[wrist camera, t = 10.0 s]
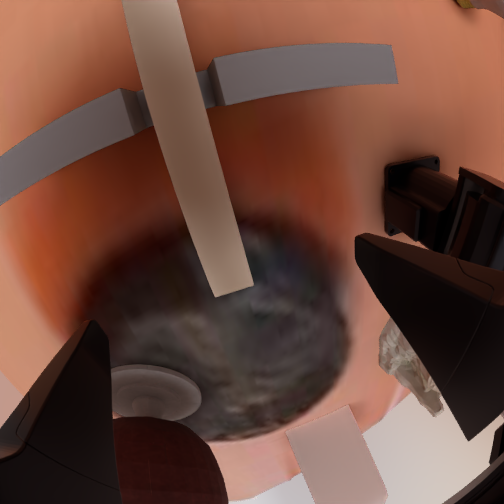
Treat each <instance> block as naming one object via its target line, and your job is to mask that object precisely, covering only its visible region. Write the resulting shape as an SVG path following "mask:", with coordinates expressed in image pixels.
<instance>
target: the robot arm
mask: <svg viewBox="0 0 504 504" xmlns="http://www.w3.org/2000/svg"><path fill="white" fill-rule="evenodd" d="M439 166H440V160H439V158H438V157H437V156H434V155H433V156H428V157H422V158H417V159H412V160H407V161H403V162H398V163H393V164H389V165H387V166H386V168H385V189H386V193H385V201H386V213H385V219H386V224H385V232H386V234H388V235H389V236H393V235H396V234H398V233H401V232H403V233H405V234H406V235H407V236H408V237H410V238H411V239H412V240H414V241H415V242H417V241H419V242H420V243H421V244H422V245H424V246H425V247H426V248H428V249H429V250H428V249H424V248H421V247H417V246H414V245H410V244H407V243H403V242H399V241H396V240H392V239H389V238H385V237H381V236H377V235H374V234H370V233H363V234H360V235H357V236H356V237H355V260H356V263H357V265H358V266H359V268H360V270H361V271H362V273H363V275H364V276H365V278H366V280H367V282H368V283H369V285H370V287H371V289H372V290H373V292H374V294H375V295H376V297H377V298H378V300H379V301H380V303H381V304H382V305H383V307H384V308H385V310H386V311H387V312H388V314H389V315H390V317H391V318H392V319H393V321H394V322H395V324H396V325H397V327H398V328H399V329H400V331H401V332H402V334H403V335H404V337H405V338H406V340H407V341H408V343H409V344H410V346H411V347H412V349H413V350H414V352H415V353H416V355H417V356H418V358H419V359H420V361H421V362H422V364H423V365H424V367H425V369H426V370H427V372H428V373H429V375H430V376H431V378H432V380H433V381H434V383H435V385H436V386H437V388H438V389H439V391H440V393H441V395H442V396H443V398H444V400H445V401H446V403H447V405H448V406H449V408H450V410H451V412H452V414H453V415H454V417H455V419H456V420H457V422H458V424H459V426H460V428H461V430H462V431H463V433H464V435H465V437H466V439H467V440H468V441H470V440H471V439H472V438H474V437H475V436H476V435H477V434H479V433H480V432H481V431H482V430H483V429H484V428H486V427H487V426H488V425H489V424H490V423H491V422H492V421H494V420H495V419H496V418H497V417H498V416H499V415H500V414H501V415H502V417H503V418H504V183H503V182H501V181H499V180H497V179H495V178H493V177H491V176H488V175H486V174H483V173H480V172H477V171H473V170H470V169H467V168H464V167H460V168H459V173H458V174H459V178H458V181H457V180H455V179H453V178H451V177H449V176H447V175H445V174H442V173H440V172H439ZM391 169H392V172H391V173H390V170H391ZM391 229H392V230H391ZM390 230H391V231H390ZM489 463H490V466H489V467H488V468H487V469H486V470H484V471H483V472H482V473H481V474H480V475H479V476H478V477H476V478H475V479H474V480H473V481H472V482H471V483H469V484H468V485H467V486H465V487H464V488H463V489H462V490H461V491H459V492H458V493H456V494H455V495H454V496H452V497H451V498H450V499H448V500H447V501H445V502H444V503H443V504H504V423H503V424H502V425H501V426H500V427H499V428H498V429H497V430H496V431H495V435H494V441H493V446H492V451H491V456H490V460H489ZM0 504H123V503H122V497H121V492H120V486H119V480H118V472H117V465H116V456H115V445H114V433H113V415H112V378H111V366H110V352H109V340H108V337H107V335H106V334H105V332H104V331H103V330H102V328H101V327H100V326H99V324H98V323H97V322H96V321H95V320H93V319H91V320H88V321H84V322H83V323H82V324H81V325H80V326H79V328H78V329H77V330H76V331H75V332H74V334H73V335H72V336H71V337H70V338H69V339H68V341H67V342H66V343H65V344H64V346H63V347H62V348H61V349H60V350H59V352H58V353H57V354H56V355H55V357H54V358H53V359H52V360H51V362H50V363H49V364H48V366H47V367H46V368H45V369H44V371H43V372H42V373H41V375H40V376H39V377H38V379H37V380H36V381H35V383H34V384H33V385H32V387H31V388H30V389H29V391H28V392H27V393H26V395H25V396H24V398H23V399H22V400H21V402H20V403H19V405H18V406H17V407H16V409H15V410H14V411H13V413H12V414H11V415H10V416H9V418H8V419H7V420H6V422H5V423H4V424H3V426H2V427H1V428H0Z"/></svg>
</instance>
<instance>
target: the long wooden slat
mask: <svg viewBox="0 0 504 504" xmlns="http://www.w3.org/2000/svg"><path fill="white" fill-rule="evenodd" d="M122 5H123V9H124V14H125V18H126V23H127V27H128V32H129V36H130V40H131V44H132V48H133V52H134V56H135V60H136V64H137V68H138V71H139V75H140V79H141V83H142V86H143V90H144V93H145V97H146V100H147V104H148V107H149V111H150V114H151V117H152V121H153V124H154V127H155V131H156V134H157V137H158V140H159V144H160V147H161V150H162V153H163V156H164V159H165V162H166V165H167V168H168V171H169V174H170V177H171V180H172V183H173V186H174V189H175V192H176V195H177V198H178V201H179V204H180V206H181V209H182V212H183V215H184V218H185V221H186V223H187V226H188V229H189V231H190V234H191V237H192V240H193V242H194V245H195V248H196V250H197V253H198V256H199V258H200V261H201V263H202V266H203V269H204V271H205V274H206V276H207V279H208V281H209V284H210V286H211V289H212V291H213V294H214V296H215V297H218V296H221V295H224V294H227V293H231V292H234V291H237V290H240V289H244V288H247V287H250V286H253V285H254V284H253V280H252V276H251V273H250V269H249V266H248V262H247V259H246V255H245V251H244V248H243V244H242V241H241V237H240V234H239V230H238V226H237V223H236V219H235V216H234V212H233V208H232V205H231V201H230V197H229V194H228V190H227V187H226V183H225V179H224V176H223V172H222V168H221V165H220V161H219V157H218V154H217V150H216V146H215V143H214V139H213V135H212V132H211V128H210V124H209V120H208V117H207V113H206V109H205V106H204V102H203V98H202V94H201V91H200V87H199V83H198V79H197V76H196V72H195V68H194V64H193V60H192V57H191V53H190V49H189V45H188V41H187V38H186V34H185V30H184V26H183V22H182V18H181V15H180V11H179V7H178V3H177V0H122Z"/></svg>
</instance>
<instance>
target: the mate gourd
mask: <svg viewBox="0 0 504 504" xmlns="http://www.w3.org/2000/svg"><path fill="white" fill-rule="evenodd" d="M111 378H112V410H113V411H114V412H116V413H118V414H120V415H122V416H125V417H121V418H117V419H113V433H114V445H115V456H116V465H117V472H118V480H119V486H120V492H121V497H122V503H123V504H228V496H227V492H226V487H225V483H224V478H223V476H222V473H221V471H220V468H219V466H218V463H217V460H216V458H215V456H214V455H213V452H212V450H211V448H210V447H209V445H208V444H206V443H205V442H204V441H203V440H202V439H201V438H200V437H199V436H198V435H197V434H195V433H194V432H193V431H192V430H191V429H190V428H188V427H187V426H185V425H182V424H180V423H177V422H174V421H175V420H179V419H182V418H185V417H187V416H189V415H191V414H192V413H194V412H195V411H196V410H197V409H198V408H199V406H200V404H201V392H200V389H199V387H198V386H197V385H196V383H195V382H194V381H192V380H191V379H190V378H189V377H187V376H185V375H183V374H181V373H179V372H176V371H174V370H171V369H168V368H164V367H160V366H153V365H143V364H133V365H123V366H119V367H115V368H112V369H111Z"/></svg>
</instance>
